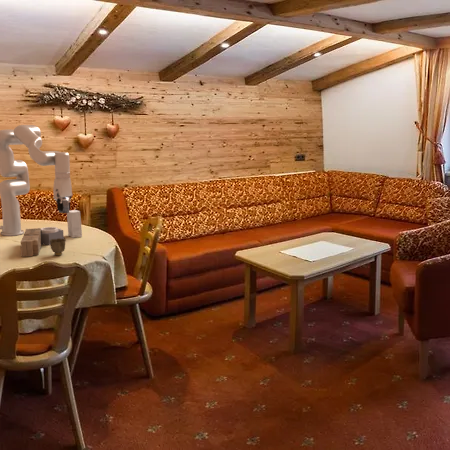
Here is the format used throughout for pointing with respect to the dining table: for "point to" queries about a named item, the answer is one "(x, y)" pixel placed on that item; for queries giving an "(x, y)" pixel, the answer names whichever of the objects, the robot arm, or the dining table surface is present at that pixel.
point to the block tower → (31, 242)
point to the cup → (58, 246)
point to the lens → (65, 205)
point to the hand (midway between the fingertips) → (63, 209)
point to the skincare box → (74, 223)
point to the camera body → (50, 234)
